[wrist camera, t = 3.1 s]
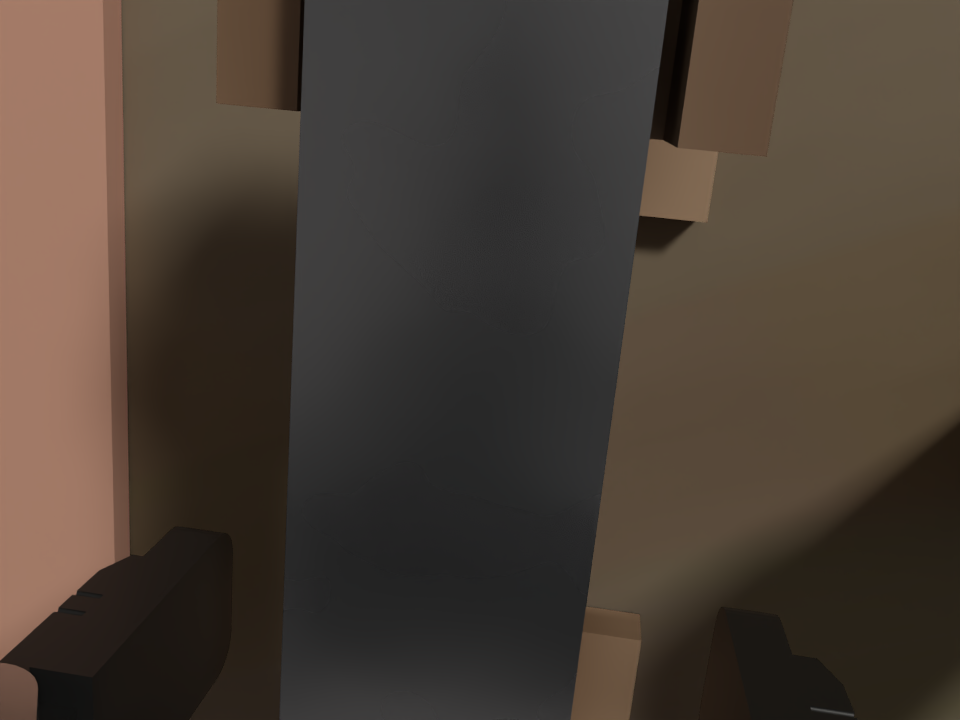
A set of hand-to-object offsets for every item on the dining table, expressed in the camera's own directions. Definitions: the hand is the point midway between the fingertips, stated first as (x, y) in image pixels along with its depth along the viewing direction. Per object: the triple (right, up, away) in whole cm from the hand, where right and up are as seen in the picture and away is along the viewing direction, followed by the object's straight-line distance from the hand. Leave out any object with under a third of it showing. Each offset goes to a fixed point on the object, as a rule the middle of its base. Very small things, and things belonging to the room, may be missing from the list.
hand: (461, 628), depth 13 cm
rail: (0, 0, 0) cm, 0 cm away
